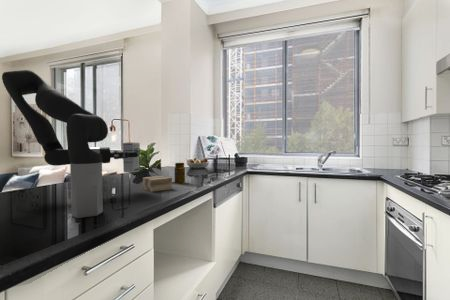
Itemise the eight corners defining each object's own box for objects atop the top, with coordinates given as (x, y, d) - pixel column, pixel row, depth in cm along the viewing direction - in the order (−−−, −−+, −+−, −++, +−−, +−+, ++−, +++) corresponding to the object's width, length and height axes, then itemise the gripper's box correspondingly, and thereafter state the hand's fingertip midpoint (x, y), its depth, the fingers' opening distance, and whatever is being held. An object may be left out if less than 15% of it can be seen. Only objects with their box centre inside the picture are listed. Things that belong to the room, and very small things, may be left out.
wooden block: (171, 189, 124) (171, 177, 124) (151, 192, 117) (151, 180, 117) (162, 186, 132) (162, 175, 132) (142, 188, 125) (142, 177, 125)
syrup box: (133, 172, 115) (133, 142, 114) (122, 172, 116) (122, 142, 115) (140, 171, 120) (140, 142, 120) (129, 171, 121) (129, 142, 121)
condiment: (187, 183, 142) (187, 162, 141) (175, 184, 136) (175, 163, 135) (180, 181, 147) (180, 162, 147) (168, 183, 141) (168, 163, 141)
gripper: (98, 147, 105) (138, 147, 112) (98, 147, 117) (133, 146, 125) (99, 164, 105) (138, 162, 113) (98, 162, 117) (133, 161, 125)
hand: (135, 154), depth 119 cm, fingers closed on syrup box, 7 cm apart
